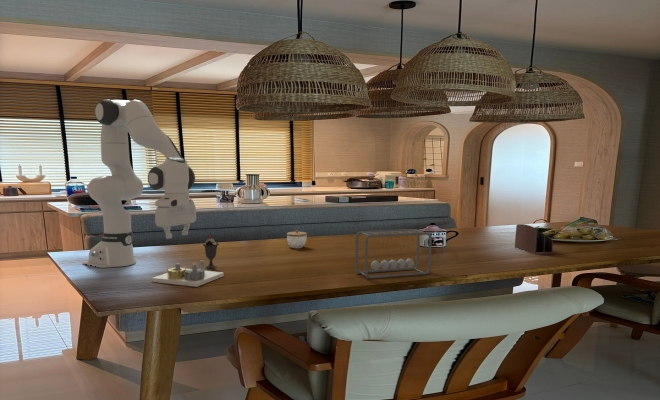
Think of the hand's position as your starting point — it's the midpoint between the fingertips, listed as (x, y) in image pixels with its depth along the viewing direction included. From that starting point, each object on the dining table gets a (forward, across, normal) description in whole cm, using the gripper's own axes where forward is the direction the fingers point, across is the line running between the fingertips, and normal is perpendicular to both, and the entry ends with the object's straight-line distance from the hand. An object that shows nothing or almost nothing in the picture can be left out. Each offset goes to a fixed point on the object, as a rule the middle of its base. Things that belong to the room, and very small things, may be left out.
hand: (177, 236), depth 185 cm
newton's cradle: (+17, -43, +74) cm, 88 cm away
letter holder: (+16, -125, +131) cm, 182 cm away
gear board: (+17, -4, +2) cm, 17 cm away
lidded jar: (+17, -85, +12) cm, 87 cm away
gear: (+15, +1, 0) cm, 15 cm away
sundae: (+17, -25, -2) cm, 30 cm away
